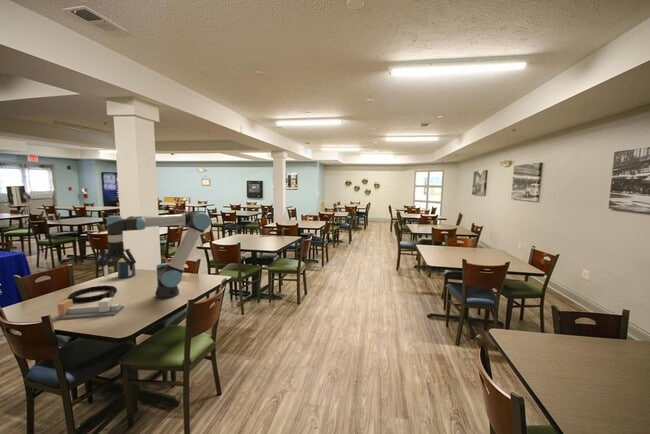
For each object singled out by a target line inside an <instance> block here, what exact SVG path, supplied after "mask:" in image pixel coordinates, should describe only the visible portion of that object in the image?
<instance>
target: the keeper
mask: <svg viewBox="0 0 650 434" xmlns="http://www.w3.org/2000/svg"><path fill="white" fill-rule="evenodd" d="M110 305H114V297H112V298H103V299H100V300H98V302H97V306H98V307H99V312H106V311H110Z"/></svg>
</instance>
